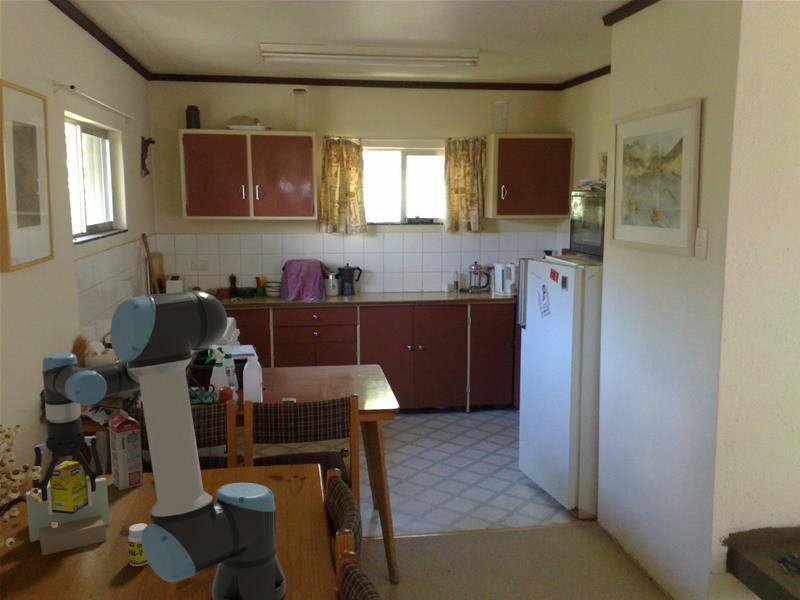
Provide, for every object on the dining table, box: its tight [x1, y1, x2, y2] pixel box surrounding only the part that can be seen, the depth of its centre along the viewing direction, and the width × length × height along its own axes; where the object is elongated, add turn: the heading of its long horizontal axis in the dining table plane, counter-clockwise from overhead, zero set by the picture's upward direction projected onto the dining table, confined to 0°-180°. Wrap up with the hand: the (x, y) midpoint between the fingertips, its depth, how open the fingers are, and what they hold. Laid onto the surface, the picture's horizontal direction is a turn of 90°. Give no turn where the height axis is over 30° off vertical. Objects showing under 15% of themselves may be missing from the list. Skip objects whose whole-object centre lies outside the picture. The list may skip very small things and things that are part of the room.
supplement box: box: [50, 460, 88, 514], centre depth 170 cm, size 6×6×11 cm
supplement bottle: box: [127, 523, 149, 567], centre depth 161 cm, size 5×5×8 cm
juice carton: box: [108, 408, 144, 491], centre depth 205 cm, size 7×7×22 cm
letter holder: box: [25, 476, 111, 556], centre depth 172 cm, size 11×18×12 cm, turn 121°
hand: (70, 508), depth 171 cm, fingers closed on supplement box, 8 cm apart
